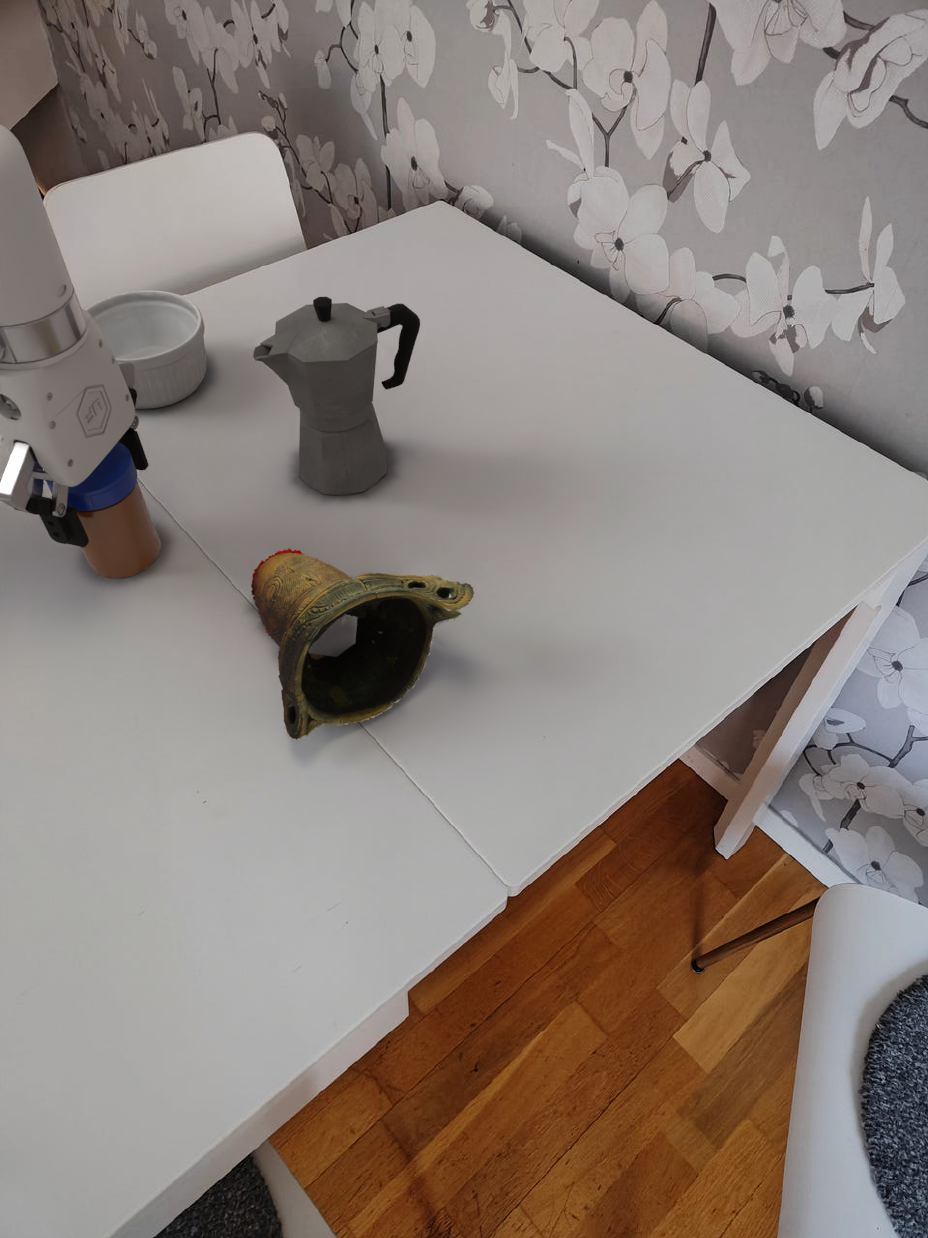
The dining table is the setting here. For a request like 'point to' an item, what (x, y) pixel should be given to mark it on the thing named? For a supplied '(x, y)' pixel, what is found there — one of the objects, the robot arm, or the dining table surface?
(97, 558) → the jar
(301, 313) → the coffeepot
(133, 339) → the ramekin
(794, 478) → the dining table surface
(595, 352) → the dining table surface
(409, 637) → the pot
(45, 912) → the dining table surface
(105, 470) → the lid
